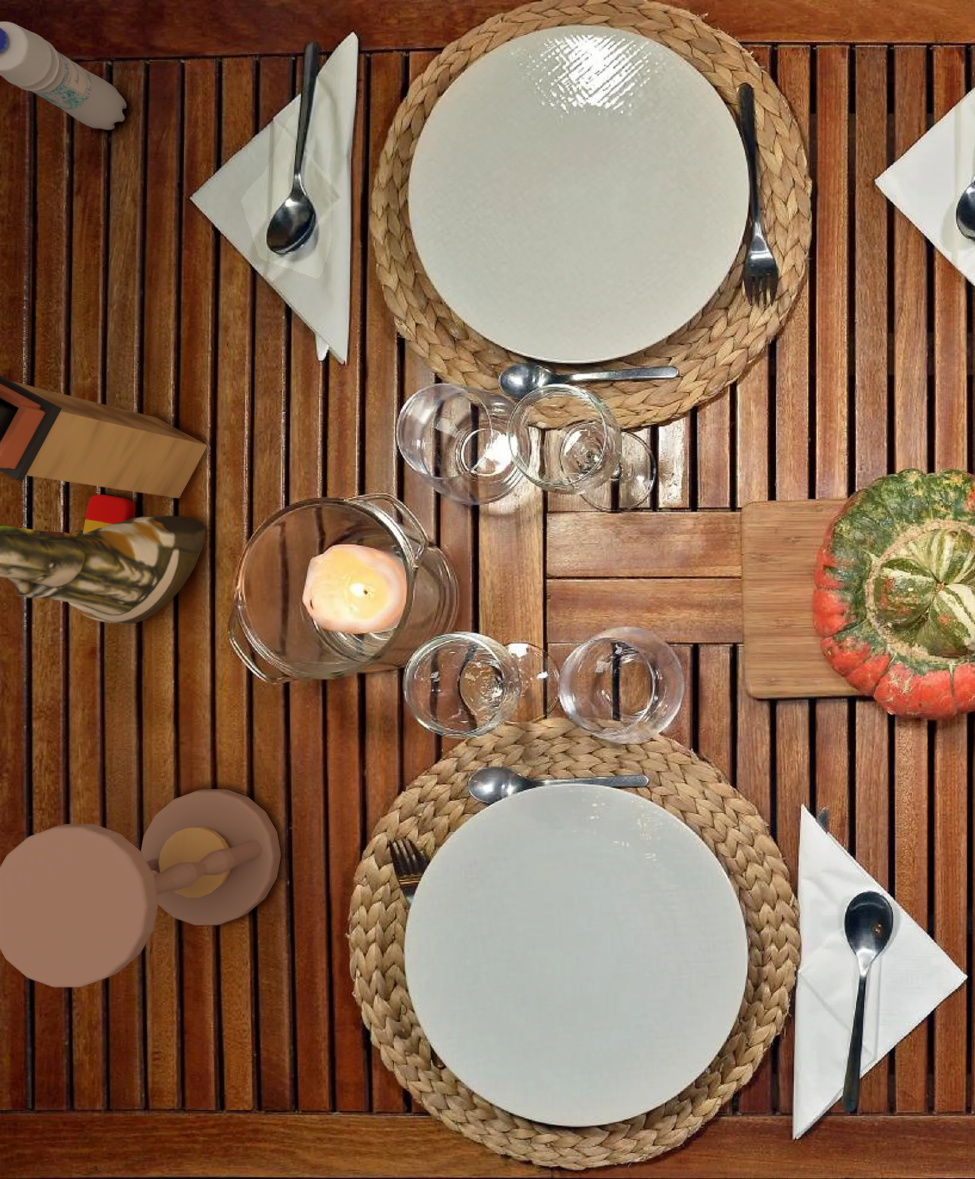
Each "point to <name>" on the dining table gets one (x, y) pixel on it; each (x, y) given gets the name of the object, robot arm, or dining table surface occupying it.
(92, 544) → the statue
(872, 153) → the dining table surface
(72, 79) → the bottle
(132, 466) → the stand
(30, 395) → the base pad
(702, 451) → the dining table surface
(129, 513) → the popsicle
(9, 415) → the post
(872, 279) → the dining table surface
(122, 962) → the hourglass
